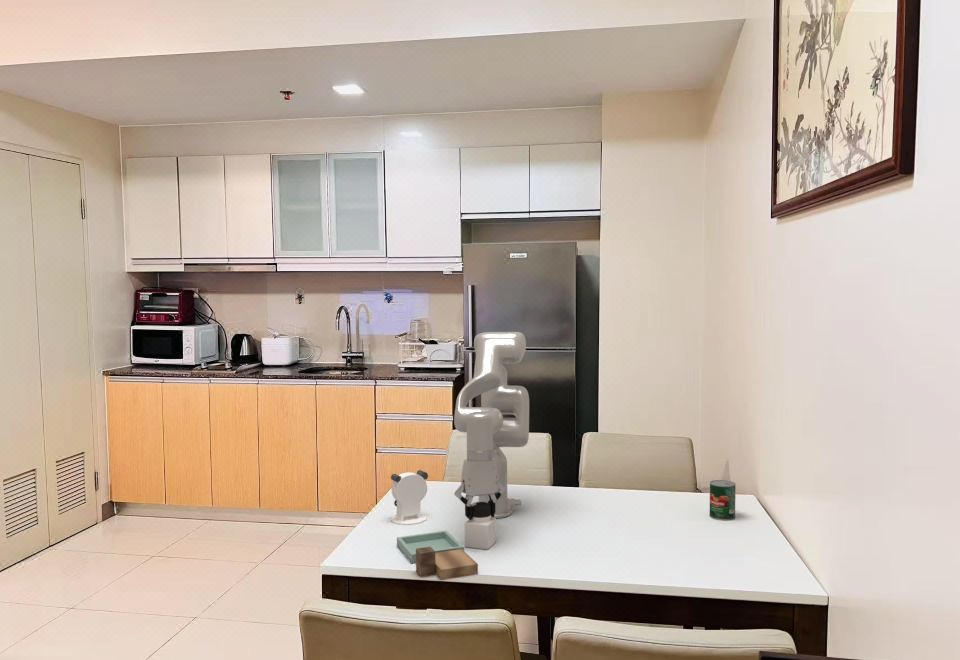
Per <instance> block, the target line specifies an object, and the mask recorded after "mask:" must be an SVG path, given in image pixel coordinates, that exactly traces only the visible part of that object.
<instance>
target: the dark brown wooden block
mask: <svg viewBox="0 0 960 660" xmlns="http://www.w3.org/2000/svg"><path fill="white" fill-rule="evenodd" d="M415 571H416V573H417V574H418V576H419V577H421V578H422V577H429V576H434V575H437V574H436V568H435V551H434V550H433V549H432V548H431V547H424V548H417V549H416V563H415Z"/></svg>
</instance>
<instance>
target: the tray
mask: <svg viewBox="0 0 960 660" xmlns="http://www.w3.org/2000/svg"><path fill="white" fill-rule="evenodd" d="M396 546H397V548H398V549H399V550H400V551H401V553H402V554H403V555H404V556H405V558H407V560H408V561H409V562H410V563H411V565H413V564H416V549H417V548H424V547H431V548H432V549H433V550H434V551H435V553H438V552H445V551H452V550H458V549H463V550H464V551H465V545H463V544H462V543H460V542H459V541H458V540H457V539H456V538H455V537H454V536H453V535H452V534H451V533H449V532H448V530H440V531H432V532H425V533H420V534H419V533H418V534H412V535H411V534H410V535H403V536H397V537H396Z"/></svg>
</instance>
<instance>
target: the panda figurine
mask: <svg viewBox="0 0 960 660" xmlns="http://www.w3.org/2000/svg"><path fill="white" fill-rule="evenodd" d="M428 478H429V475H428V472H426V471H424V470H422V469H418V470H417V471H416V473H415V472H409V471H408V472H403V473H400V474H399V475H398V474H397V473H392V474H391V476H390V479H391V480H392V484H391V495H392V497H393V498H394V499H395V500H394V502H393V503H394V506H395V507H396V514H395V515H393V516H392V517H391V518H390V521H391V522H392V523H393V524H396V525H402V526H412V525H418V524H423V523H424V522H426V521H427V515H425V514H423V513H421V504H422V503H421V502H422V501H423V499H424V498H425V496H426V495H427V492H428V484H427V482H426V480H428Z"/></svg>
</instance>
